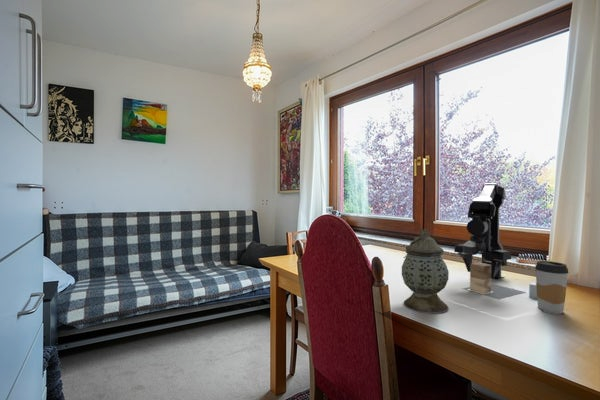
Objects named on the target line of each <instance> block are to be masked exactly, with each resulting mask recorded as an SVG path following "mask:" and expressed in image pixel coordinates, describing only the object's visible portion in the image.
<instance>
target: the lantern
mask: <svg viewBox="0 0 600 400" xmlns="http://www.w3.org/2000/svg"><path fill="white" fill-rule="evenodd" d="M413 238H414V239H413V241H411V242H410V244H408V245H407V246H405V253H406V254H405V256H403V259H404V260H403V262H402V265H401V277H402V280H403V283H404V285H405V286H406V287H407V288H408V289H409V290H410V291H411V292H412V294H411V295H410V296H409V297H408V298H406V299H405V300H404V301H403V303H404V305H403V306H405V307H406V308H407V309H409V310H410V311H411V310H412V311H414V312H417V313H423V314H428V315H429V314H431V315H440V314H445V313H448V311H449V306H448V304H446V302H444V300H442V299H441V298H440V297H439V294H438V293H440V292H441V291H442V290H444V289H445V288H446V285H447V283H448V281H449V274H450V273H449V269H448V266H447V264H446V262H445V261H444V259H443V258H442V255H444V252H445V251H444V249H443V248H442V247H441V246H440V245H439V244H438V243H437V242H436V240H435V239H434V238H433V237H431V236H430V232H429V230H427V229H422V230H421V231H420V234H419V236H416V237H413Z"/></svg>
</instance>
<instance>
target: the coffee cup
mask: <svg viewBox="0 0 600 400" xmlns="http://www.w3.org/2000/svg"><path fill="white" fill-rule="evenodd" d="M534 266H535V267H534V269H535V282H536V289H537V298H536V300H537V307H538V309H540V310H541V311H542V312H543V313H544V312H546V313H549V314H554V315H555V314H556V315H561V314H563V312H565V303H566V297H567V296H566V295H567V294H566V293H567V283H568V281H567V280H568V274H569V268H568V267H567V264H566V263H561V262H557V261H548V260H547V261H546V260H537V261H536V264H535V265H534Z"/></svg>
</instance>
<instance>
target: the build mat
mask: <svg viewBox="0 0 600 400" xmlns="http://www.w3.org/2000/svg"><path fill="white" fill-rule="evenodd" d="M461 289H462V290H465V291H468V292H472V293H475V294H479V295H483V296H486V297H490V298H493V299H496V300H501V299H506V298H510V297H514V296H518V295H522V294H526V293H527V292H526V291H522V290H520V289H519V290H518V289H515V288H511V287H508V286H507V287H506V286H503V285H498V284H495V283H491V292H487V293H480V292H476V291H472V290H470V286H467V287H464V288H461Z"/></svg>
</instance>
